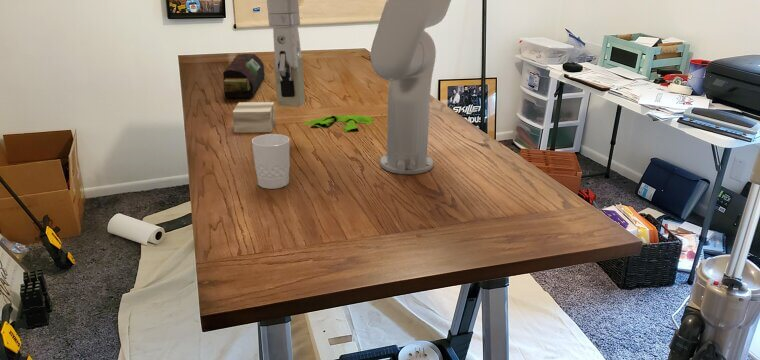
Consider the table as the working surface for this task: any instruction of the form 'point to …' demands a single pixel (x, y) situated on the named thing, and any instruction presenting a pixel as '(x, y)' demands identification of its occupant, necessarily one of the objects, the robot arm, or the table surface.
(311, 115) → the table surface
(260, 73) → the packaged item
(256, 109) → the maple block
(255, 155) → the white cup
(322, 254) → the table surface
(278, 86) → the skincare box
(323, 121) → the cloth
